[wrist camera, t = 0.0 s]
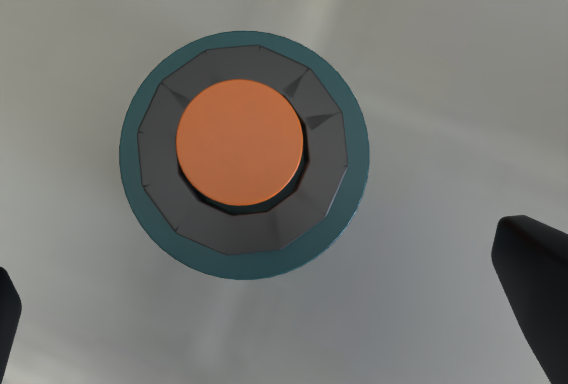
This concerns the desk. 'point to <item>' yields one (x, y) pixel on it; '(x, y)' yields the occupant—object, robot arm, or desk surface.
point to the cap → (191, 203)
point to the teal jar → (268, 261)
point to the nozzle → (239, 142)
